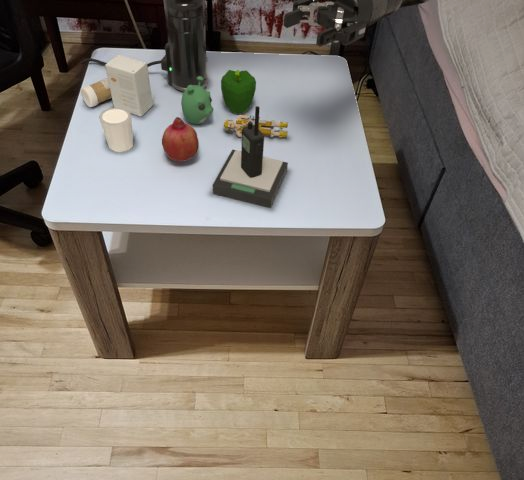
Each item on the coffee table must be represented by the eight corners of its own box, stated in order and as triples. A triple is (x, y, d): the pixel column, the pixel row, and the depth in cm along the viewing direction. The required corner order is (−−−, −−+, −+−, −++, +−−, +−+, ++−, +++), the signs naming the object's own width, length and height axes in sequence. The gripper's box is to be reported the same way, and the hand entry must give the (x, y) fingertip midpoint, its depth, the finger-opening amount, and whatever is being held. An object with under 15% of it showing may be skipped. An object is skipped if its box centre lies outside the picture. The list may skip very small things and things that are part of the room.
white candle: (130, 155, 113) (124, 127, 107) (100, 150, 114) (93, 122, 108) (140, 138, 117) (135, 109, 111) (111, 133, 117) (105, 104, 112)
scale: (212, 193, 108) (212, 182, 105) (232, 158, 115) (232, 146, 112) (270, 208, 106) (271, 197, 104) (286, 171, 113) (288, 160, 111)
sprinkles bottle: (136, 92, 128) (91, 111, 123) (125, 78, 128) (79, 97, 123) (138, 79, 124) (91, 98, 119) (126, 64, 124) (79, 83, 119)
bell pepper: (231, 95, 129) (231, 54, 121) (259, 104, 127) (261, 64, 119) (214, 111, 125) (213, 70, 116) (244, 121, 123) (245, 80, 115)
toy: (287, 138, 117) (223, 132, 115) (284, 145, 122) (222, 139, 120) (289, 115, 116) (224, 108, 115) (286, 123, 122) (224, 116, 120)
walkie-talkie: (239, 166, 109) (241, 99, 96) (253, 162, 110) (256, 95, 97) (250, 179, 106) (254, 112, 94) (264, 174, 108) (269, 108, 95)
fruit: (158, 167, 112) (153, 125, 103) (170, 145, 116) (166, 104, 108) (193, 173, 111) (191, 132, 103) (204, 152, 115) (202, 111, 107)
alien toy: (204, 134, 119) (202, 93, 111) (177, 124, 121) (173, 83, 112) (219, 120, 123) (218, 79, 114) (192, 110, 124) (190, 69, 116)
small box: (153, 106, 124) (148, 62, 116) (141, 117, 121) (134, 73, 113) (126, 97, 126) (118, 53, 117) (113, 108, 123) (104, 64, 114)
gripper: (335, -29, 98) (276, -8, 91) (392, -2, 93) (333, 23, 86) (329, 14, 104) (273, 37, 98) (382, 42, 99) (326, 68, 92)
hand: (301, 30), depth 92 cm, fingers open, 8 cm apart
